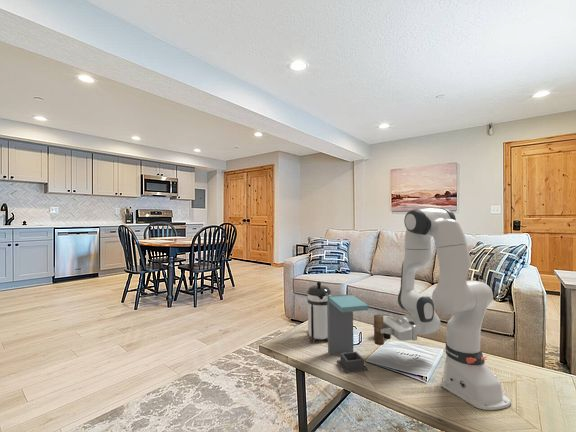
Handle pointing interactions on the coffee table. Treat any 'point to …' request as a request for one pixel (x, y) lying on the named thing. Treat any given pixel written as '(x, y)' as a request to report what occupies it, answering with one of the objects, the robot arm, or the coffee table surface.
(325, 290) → the coffee press
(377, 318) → the peg
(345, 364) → the socket
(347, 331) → the teal capped pillar
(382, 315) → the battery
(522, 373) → the coffee table surface
